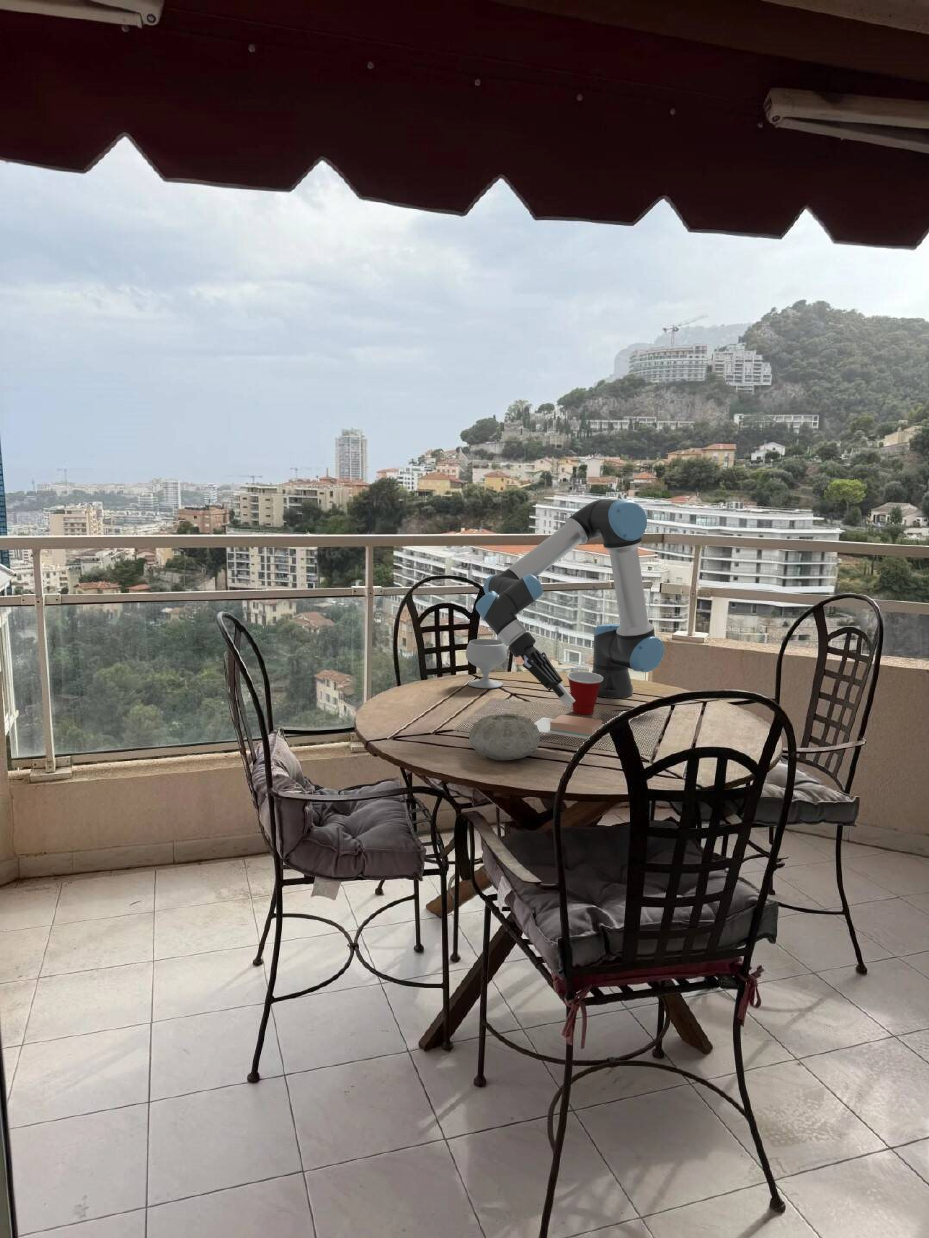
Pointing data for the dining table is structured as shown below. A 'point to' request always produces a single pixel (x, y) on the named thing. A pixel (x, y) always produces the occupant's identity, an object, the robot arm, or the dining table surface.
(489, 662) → the chalice
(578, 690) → the plastic cup
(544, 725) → the mat
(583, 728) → the tan flat block
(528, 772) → the dining table surface
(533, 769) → the dining table surface
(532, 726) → the grey rounded stone
